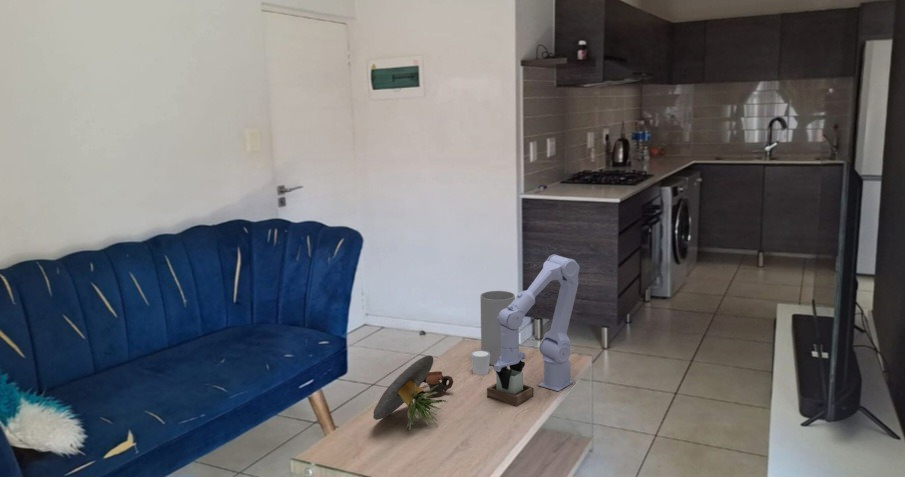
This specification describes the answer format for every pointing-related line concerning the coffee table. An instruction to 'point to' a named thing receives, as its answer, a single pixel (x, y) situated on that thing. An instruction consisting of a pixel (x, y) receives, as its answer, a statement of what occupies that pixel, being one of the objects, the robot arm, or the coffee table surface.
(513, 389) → the green crate
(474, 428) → the coffee table surface
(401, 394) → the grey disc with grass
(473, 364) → the white cylinder
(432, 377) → the pottery mug
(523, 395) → the walnut crate
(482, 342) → the cylinder vase
